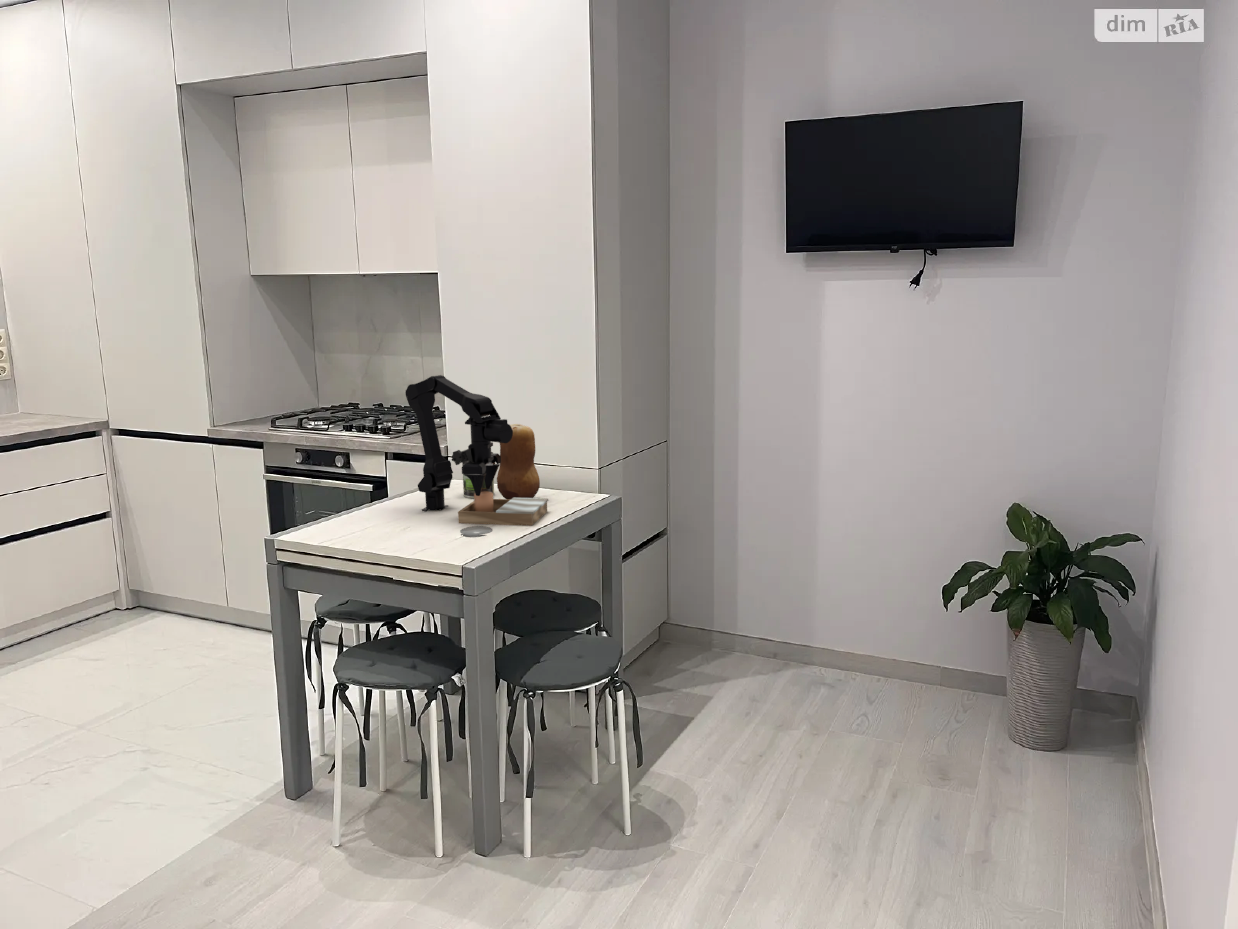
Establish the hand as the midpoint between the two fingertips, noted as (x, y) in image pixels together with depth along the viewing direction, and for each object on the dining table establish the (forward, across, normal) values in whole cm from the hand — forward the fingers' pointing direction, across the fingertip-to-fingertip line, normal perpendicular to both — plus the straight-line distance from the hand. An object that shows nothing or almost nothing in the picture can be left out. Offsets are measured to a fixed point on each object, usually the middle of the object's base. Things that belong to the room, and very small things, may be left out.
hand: (483, 492), depth 281 cm
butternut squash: (+8, -22, +4) cm, 24 cm away
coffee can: (+8, -30, -12) cm, 33 cm away
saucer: (+8, +16, +3) cm, 18 cm away
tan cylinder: (+7, 0, 0) cm, 7 cm away
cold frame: (+8, 0, +6) cm, 10 cm away
